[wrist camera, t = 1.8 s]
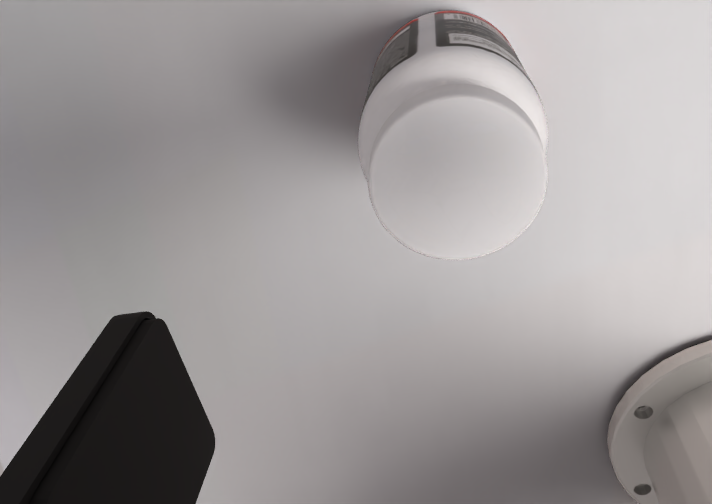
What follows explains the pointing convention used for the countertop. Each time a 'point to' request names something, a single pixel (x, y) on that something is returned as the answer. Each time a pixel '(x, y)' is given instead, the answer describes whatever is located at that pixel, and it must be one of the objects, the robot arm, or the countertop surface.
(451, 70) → the pill bottle
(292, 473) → the countertop surface
